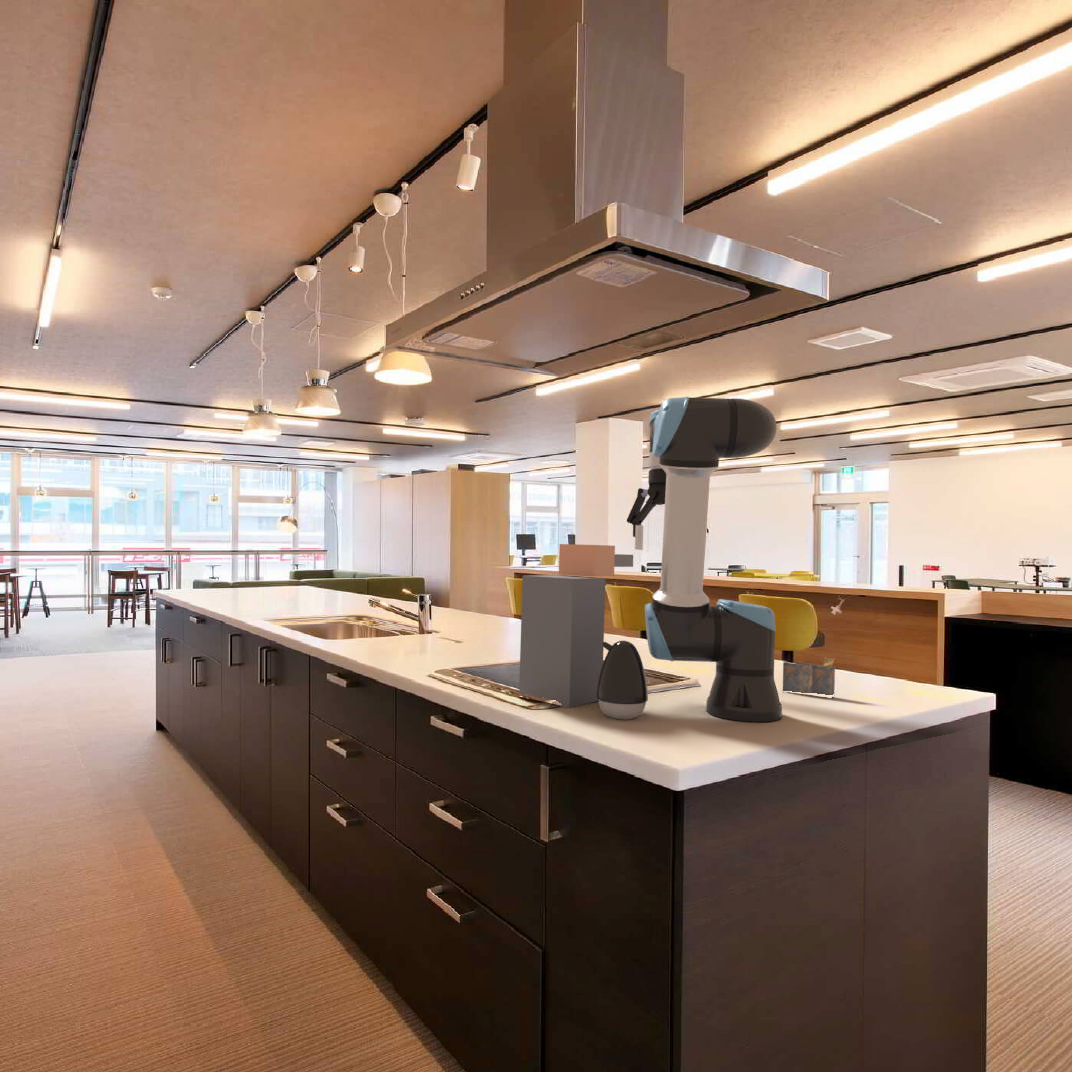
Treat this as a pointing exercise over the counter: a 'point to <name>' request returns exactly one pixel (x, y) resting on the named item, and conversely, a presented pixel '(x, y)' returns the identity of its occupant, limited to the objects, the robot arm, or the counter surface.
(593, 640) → the grey tall block
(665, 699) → the counter surface
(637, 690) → the pump dispenser
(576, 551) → the orange and grey block
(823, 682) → the ruin model on sheet
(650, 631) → the robot arm
